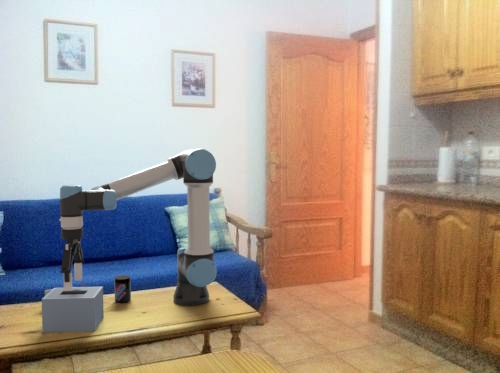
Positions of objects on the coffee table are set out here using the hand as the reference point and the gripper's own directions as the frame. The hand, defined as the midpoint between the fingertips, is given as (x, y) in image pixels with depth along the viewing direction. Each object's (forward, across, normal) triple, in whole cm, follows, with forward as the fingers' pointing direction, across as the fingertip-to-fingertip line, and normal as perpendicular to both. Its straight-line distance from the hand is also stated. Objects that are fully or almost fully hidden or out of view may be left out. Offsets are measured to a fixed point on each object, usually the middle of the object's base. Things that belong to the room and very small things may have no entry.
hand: (73, 285), depth 173 cm
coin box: (+15, 0, 0) cm, 15 cm away
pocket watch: (+15, -19, 0) cm, 24 cm away
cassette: (+15, -21, -11) cm, 28 cm away
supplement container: (+15, -26, +13) cm, 33 cm away
